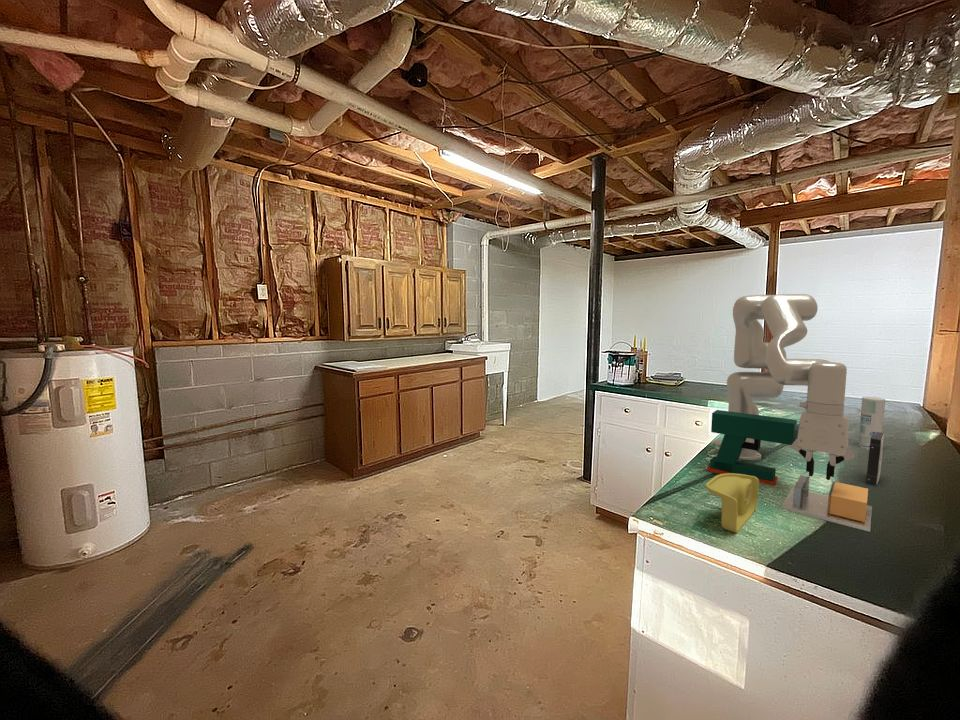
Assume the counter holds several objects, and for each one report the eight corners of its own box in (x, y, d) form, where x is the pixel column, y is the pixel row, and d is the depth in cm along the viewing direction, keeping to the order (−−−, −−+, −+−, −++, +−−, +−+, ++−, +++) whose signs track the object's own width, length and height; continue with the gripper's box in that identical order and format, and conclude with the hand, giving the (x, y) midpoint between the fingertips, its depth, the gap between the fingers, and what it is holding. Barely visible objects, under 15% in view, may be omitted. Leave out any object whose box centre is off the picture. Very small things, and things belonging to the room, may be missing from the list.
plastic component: (735, 536, 95) (737, 495, 94) (700, 525, 100) (702, 485, 99) (757, 509, 108) (759, 473, 107) (726, 500, 114) (728, 466, 113)
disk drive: (878, 486, 123) (882, 439, 122) (865, 484, 125) (869, 437, 124) (880, 477, 130) (884, 432, 129) (868, 475, 132) (872, 430, 131)
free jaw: (827, 512, 103) (828, 494, 103) (831, 498, 112) (833, 481, 111) (865, 522, 98) (866, 503, 98) (866, 506, 107) (868, 488, 106)
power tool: (833, 491, 120) (839, 425, 118) (832, 499, 115) (838, 429, 113) (712, 465, 141) (715, 409, 140) (707, 471, 136) (710, 412, 134)
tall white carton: (885, 450, 157) (890, 399, 155) (868, 450, 157) (873, 399, 155) (869, 445, 164) (874, 396, 162) (853, 445, 164) (857, 396, 162)
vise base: (781, 509, 108) (783, 487, 108) (791, 491, 119) (793, 471, 119) (870, 532, 96) (872, 507, 96) (871, 510, 108) (873, 487, 107)
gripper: (783, 406, 110) (779, 472, 111) (866, 416, 98) (860, 489, 100) (788, 402, 115) (784, 465, 117) (867, 411, 104) (862, 481, 105)
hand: (819, 476), depth 108 cm, fingers open, 3 cm apart
